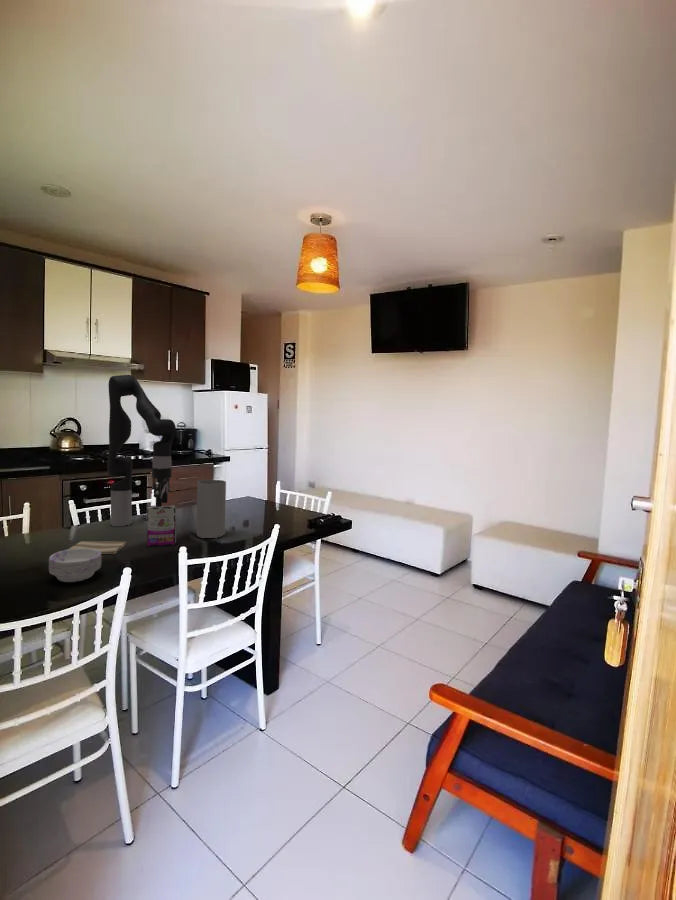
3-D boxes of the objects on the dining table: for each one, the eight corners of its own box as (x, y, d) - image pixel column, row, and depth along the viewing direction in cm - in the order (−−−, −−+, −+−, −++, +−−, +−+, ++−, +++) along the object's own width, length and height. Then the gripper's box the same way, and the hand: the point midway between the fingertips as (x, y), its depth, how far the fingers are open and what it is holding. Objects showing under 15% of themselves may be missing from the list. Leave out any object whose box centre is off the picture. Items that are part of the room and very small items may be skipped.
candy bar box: (176, 541, 194) (176, 504, 193) (175, 545, 190) (175, 507, 188) (148, 542, 191) (148, 505, 190) (146, 546, 187) (147, 507, 185)
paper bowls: (104, 580, 148) (104, 557, 148) (50, 589, 140) (50, 564, 139) (98, 566, 161) (98, 545, 160) (47, 574, 152) (47, 551, 151)
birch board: (81, 543, 186) (81, 541, 186) (126, 544, 188) (126, 541, 188) (64, 554, 172) (64, 551, 172) (113, 554, 174) (113, 551, 174)
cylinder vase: (198, 532, 211) (198, 479, 209) (225, 531, 214) (226, 479, 212) (195, 539, 199) (196, 483, 197) (224, 539, 202) (225, 484, 200)
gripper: (157, 464, 195) (157, 501, 196) (147, 468, 181) (147, 508, 182) (175, 465, 195) (175, 501, 197) (166, 468, 181) (166, 508, 182)
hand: (161, 504), depth 189 cm, fingers open, 8 cm apart
